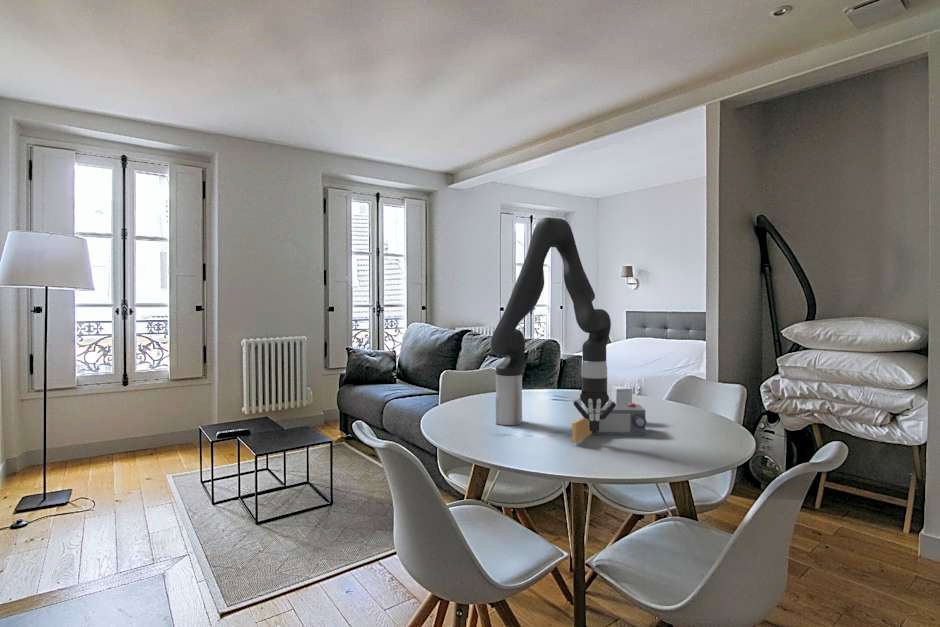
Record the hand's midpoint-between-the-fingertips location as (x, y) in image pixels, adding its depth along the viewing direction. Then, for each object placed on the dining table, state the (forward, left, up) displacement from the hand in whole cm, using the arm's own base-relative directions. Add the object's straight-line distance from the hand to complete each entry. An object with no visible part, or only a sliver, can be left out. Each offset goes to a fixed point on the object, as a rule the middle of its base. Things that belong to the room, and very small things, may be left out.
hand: (594, 432), depth 154 cm
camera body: (+9, +16, -4) cm, 19 cm away
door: (-3, +4, -3) cm, 6 cm away
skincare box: (+14, +30, -4) cm, 33 cm away
